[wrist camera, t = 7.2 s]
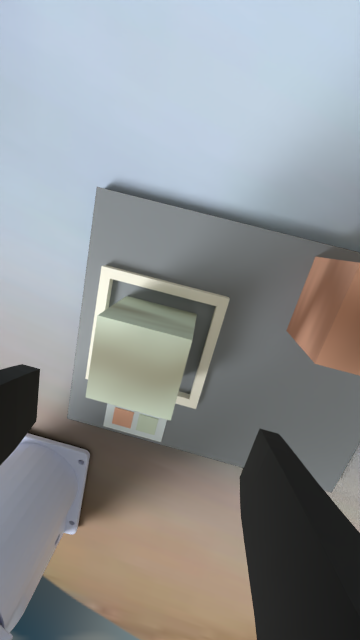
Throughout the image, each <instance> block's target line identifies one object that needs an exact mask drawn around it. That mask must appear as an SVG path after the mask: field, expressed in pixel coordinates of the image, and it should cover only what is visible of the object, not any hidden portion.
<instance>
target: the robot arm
mask: <svg viewBox="0 0 360 640" xmlns="http://www.w3.org/2000/svg"><path fill="white" fill-rule="evenodd" d="M39 375H40V369H37V368H34V367H30V366H26V365H23V364H22V365H17V366H13V367H9V368H5V369H2V370H0V640H12V638H13V637H12V635H11V634H10V633H9V632H10V631H11V630H12V629H13V628H14V626H15V625H16V624H17V622H18V621H19V619H20V618H21V616H22V614H23V612H24V611H25V609H26V607H27V605H28V603H29V601H30V599H31V597H32V595H33V593H34V591H35V589H36V587H37V585H38V583H39V581H40V579H41V577H42V575H43V573H44V571H45V569H46V567H47V565H48V563H49V561H50V559H51V557H52V555H53V553H54V551H55V549H56V547H57V545H58V543H59V541H60V539H61V537H62V535H63V533H68V534H75V533H76V531H77V529H78V523H79V518H80V512H81V506H82V500H83V494H84V488H85V482H86V476H87V470H88V464H89V459H90V453H89V452H88V451H87V450H85V449H82V448H78V447H75V446H71V445H68V444H64V443H61V442H57V441H54V440H50V439H47V438H43V437H40V436H36V435H33V434H29V433H28V432H29V430H30V429H31V427H32V426H33V425H34V423H35V422H36V418H37V404H38V389H39ZM82 460H83V461H82ZM240 506H241V520H242V527H243V535H244V543H245V550H246V557H247V565H248V572H249V579H250V587H251V594H252V601H253V608H254V616H255V625H256V634H257V640H360V533H359V532H358V531H357V529H356V528H355V527H354V526H353V525H352V524H351V522H350V521H349V520H348V519H347V518H346V517H345V515H344V514H343V513H342V512H341V511H340V509H339V508H338V507H337V506H336V505H335V503H334V502H333V501H332V500H331V498H330V497H329V496H328V495H327V494H326V492H325V491H324V490H323V489H322V487H321V486H320V485H319V484H318V482H317V481H316V480H315V478H314V477H313V476H312V475H311V473H310V472H309V471H308V470H307V468H306V467H305V466H304V464H303V463H302V462H301V461H300V459H299V458H298V457H297V455H296V454H295V453H294V452H293V450H292V449H291V448H290V447H289V445H288V444H287V443H286V442H285V440H284V439H283V438H282V437H281V436H280V434H278V433H274V432H271V431H267V430H263V429H259V431H258V433H257V436H256V438H255V441H254V443H253V446H252V448H251V451H250V453H249V456H248V458H247V461H246V463H245V466H244V468H243V471H242V473H241V476H240Z"/></svg>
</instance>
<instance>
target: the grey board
mask: <svg viewBox="0 0 360 640" xmlns="http://www.w3.org/2000/svg"><path fill="white" fill-rule="evenodd" d="M315 257H322V258H329V259H336V260H344V261H351V262H358V263H360V252H356V251H352V250H348V249H344V248H340V247H336V246H332V245H328V244H324V243H320V242H316V241H312V240H308V239H304V238H300V237H296V236H292V235H288V234H284V233H280V232H276V231H272V230H268V229H264V228H260V227H256V226H252V225H248V224H244V223H240V222H236V221H232V220H228V219H224V218H220V217H216V216H212V215H208V214H204V213H200V212H196V211H192V210H188V209H184V208H180V207H176V206H172V205H168V204H164V203H160V202H156V201H152V200H148V199H144V198H140V197H136V196H132V195H128V194H124V193H120V192H116V191H112V190H108V189H104V188H100V187H97V189H96V197H95V205H94V213H93V221H92V228H91V236H90V244H89V252H88V260H87V267H86V275H85V283H84V291H83V299H82V307H81V314H80V322H79V330H78V338H77V346H76V353H75V361H74V369H73V377H72V385H71V393H70V400H69V408H68V416H67V418H68V419H71V420H75V421H79V422H82V423H86V424H89V425H93V426H96V427H100V428H103V429H107V430H111V431H114V432H118V433H121V434H125V435H128V436H132V437H136V438H139V439H143V440H146V441H150V442H153V443H157V444H160V445H164V446H168V447H171V448H175V449H178V450H182V451H185V452H189V453H193V454H196V455H200V456H203V457H207V458H210V459H214V460H217V461H221V462H225V463H228V464H232V465H235V466H239V467H242V468H244V466H245V463H246V461H247V458H248V456H249V453H250V451H251V448H252V446H253V443H254V441H255V438H256V436H257V433H258V431H259V429H263V430H267V431H271V432H274V433H278V434H280V436H281V437H282V438H283V439H284V440H285V442H286V443H287V444H288V445H289V447H290V448H291V449H292V450H293V452H294V453H295V454H296V455H297V457H298V458H299V459H300V461H301V462H302V463H303V464H304V466H305V467H306V468H307V470H308V471H309V472H310V473H311V475H312V476H313V477H314V478H315V480H316V481H317V482H318V484H319V485H320V486H321V487H322V489H323V490H324V491H328V492H332V491H333V489H334V487H335V486H336V484H337V482H338V480H339V479H340V477H341V475H342V473H343V472H344V470H345V468H346V466H347V464H348V463H349V461H350V459H351V457H352V456H353V454H354V452H355V450H356V449H357V447H358V445H359V443H360V376H359V375H355V374H352V373H348V372H344V371H340V370H336V369H333V368H329V367H325V366H321V365H318V364H315V363H314V362H313V361H312V360H311V359H310V357H309V356H308V355H307V354H306V353H305V352H304V351H303V349H302V348H301V347H300V346H299V345H298V344H297V342H296V341H295V340H294V339H293V338H292V337H291V335H290V334H289V333H288V332H287V331H286V330H287V328H288V325H289V323H290V320H291V318H292V315H293V313H294V310H295V307H296V305H297V302H298V300H299V297H300V295H301V292H302V290H303V287H304V285H305V282H306V279H307V277H308V274H309V272H310V269H311V267H312V264H313V262H314V259H315ZM126 296H129V297H133V298H137V299H141V300H145V301H148V302H152V303H156V304H160V305H164V306H168V307H172V308H175V309H179V310H183V311H187V312H191V313H195V314H197V317H196V323H195V328H194V334H193V340H192V344H191V348H190V351H189V355H188V359H187V362H186V366H185V370H184V373H183V377H182V381H181V384H180V388H179V392H178V395H177V399H176V403H175V406H174V410H173V414H172V417H171V421H170V420H166V419H163V418H159V417H155V416H152V415H148V414H145V413H141V412H137V411H134V410H130V409H126V408H123V407H119V406H115V405H112V404H108V403H104V402H101V401H97V400H93V399H90V398H86V390H87V383H88V376H89V369H90V363H91V356H92V349H93V342H94V335H95V328H96V321H97V315H99V314H100V313H102V312H103V311H105V310H106V309H108V308H109V307H111V306H112V305H114V304H115V303H117V302H118V301H120V300H121V299H123V298H124V297H126Z"/></svg>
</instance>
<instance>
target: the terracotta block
mask: <svg viewBox="0 0 360 640" xmlns="http://www.w3.org/2000/svg"><path fill="white" fill-rule="evenodd" d="M286 331H287V332H288V333H289V334H290V335H291V337H292V338H293V339H294V340H295V341H296V342H297V344H298V345H299V346H300V347H301V348H302V349H303V351H304V352H305V353H306V354H307V355H308V356H309V357H310V359H311V360H312V361H313V362H314V363H315V364H318V365H321V366H325V367H329V368H333V369H336V370H340V371H344V372H348V373H352V374H355V375H359V376H360V263H358V262H351V261H344V260H336V259H329V258H322V257H315V259H314V262H313V264H312V267H311V269H310V272H309V274H308V277H307V279H306V282H305V285H304V287H303V290H302V292H301V295H300V297H299V300H298V302H297V305H296V307H295V310H294V313H293V315H292V318H291V320H290V323H289V325H288V328H287V330H286Z"/></svg>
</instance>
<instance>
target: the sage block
mask: <svg viewBox="0 0 360 640" xmlns="http://www.w3.org/2000/svg"><path fill="white" fill-rule="evenodd" d="M196 317H197V314H195V313H191V312H187V311H183V310H179V309H175V308H172V307H168V306H164V305H160V304H156V303H152V302H148V301H145V300H141V299H137V298H133V297H129V296H126V297H124V298H123V299H121V300H120V301H118V302H117V303H115V304H114V305H112V306H111V307H109V308H108V309H106V310H105V311H103V312H102V313H100V314H99V315H97V321H96V328H95V335H94V342H93V349H92V356H91V363H90V369H89V376H88V383H87V390H86V398H90V399H93V400H97V401H101V402H104V403H108V404H112V405H115V406H119V407H123V408H126V409H130V410H134V411H137V412H141V413H145V414H148V415H152V416H155V417H159V418H163V419H166V420H170V421H171V417H172V414H173V410H174V406H175V403H176V399H177V395H178V392H179V388H180V384H181V381H182V377H183V373H184V370H185V366H186V362H187V359H188V355H189V351H190V348H191V344H192V340H193V334H194V328H195V323H196Z"/></svg>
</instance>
